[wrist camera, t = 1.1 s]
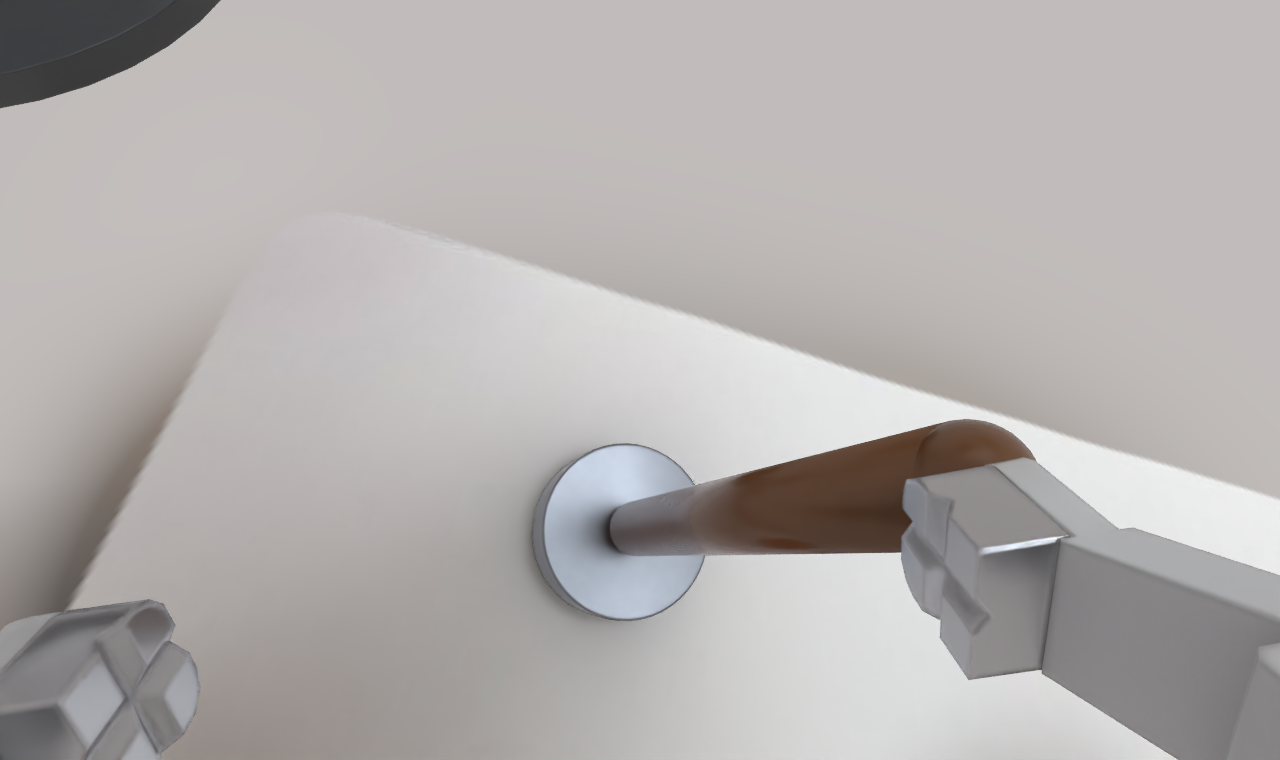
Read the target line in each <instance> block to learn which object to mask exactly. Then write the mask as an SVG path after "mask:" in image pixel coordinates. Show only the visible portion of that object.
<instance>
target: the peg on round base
mask: <svg viewBox="0 0 1280 760" xmlns="http://www.w3.org/2000/svg"><path fill="white" fill-rule="evenodd" d="M1023 457H1024V458H1028V459H1031V460H1034V461H1036V459H1035V458H1034V456H1033V455H1032V453H1031V451H1030V450H1029V449H1028V448H1027V447H1026V445H1025V444H1024V443H1023V442H1022V441H1021V440H1019V439H1018V438H1017V437H1016V436H1015V435H1013V434H1012V433H1011V432H1009V431H1007V430H1005V429H1004V428H1002V427H999V426H997V425H995V424H992V423H989V422H986V421H979V420H970V419H963V420H953V421H948V422H944V423H940V424H936V425H932V426H928V427H924V428H920V429H916V430H912V431H908V432H904V433H900V434H896V435H892V436H888V437H884V438H881V439H877V440H873V441H869V442H865V443H861V444H857V445H853V446H849V447H845V448H841V449H837V450H833V451H829V452H825V453H821V454H817V455H813V456H809V457H805V458H801V459H797V460H794V461H790V462H786V463H782V464H778V465H774V466H770V467H766V468H762V469H758V470H754V471H750V472H746V473H742V474H738V475H734V476H730V477H726V478H722V479H718V480H714V481H710V482H707V483H703V484H699V485H694V483H693V481H692V480H691V478H690V477H689V476H688V475H687V473H686V472H685V471H684V470H683V469H682V468H681V467H680V466H679V465H678V464H677V463H676V462H675V461H673V460H672V459H670V458H669V457H668V456H666V455H664V454H662V453H661V452H659V451H657V450H654V449H652V448H649V447H646V446H641V445H637V444H627V443H625V444H612V445H607V446H603V447H600V448H597V449H594V450H592V451H590V452H588V453H586V454H584V455H582V456H581V457H579V458H577V459H575V460H574V461H572V462H571V463H569V464H567V465H566V466H565V467H563V468H562V469H561V470H560V471H559V472H558V473H557V474H556V475H555V476H554V477H553V478H552V479H551V480H550V482H549V483H548V485H547V486H546V488H545V489H544V491H543V493H542V495H541V497H540V499H539V502H538V504H537V507H536V510H535V515H534V520H533V530H532V537H533V547H534V553H535V557H536V560H537V563H538V566H539V568H540V570H541V573H542V575H543V577H544V578H545V580H546V581H547V583H548V584H549V586H550V587H551V588H552V589H553V590H554V592H555V593H556V594H557V595H558V596H559V597H560V598H562V599H563V600H564V601H565V602H567V603H568V604H570V605H571V606H573V607H574V608H576V609H578V610H581V611H583V612H585V613H589V614H592V615H595V616H599V617H602V618H606V619H611V620H617V621H633V620H641V619H645V618H648V617H652V616H654V615H656V614H659V613H661V612H663V611H664V610H666V609H668V608H669V607H671V606H672V605H673V604H675V603H676V602H677V601H678V600H680V599H681V597H682V596H683V595H684V594H685V593H686V592H687V591H688V590H689V588H690V587H691V586H692V584H693V583H694V581H695V579H696V577H697V576H698V574H699V572H700V569H701V567H702V564H703V561H704V558H705V555H762V554H830V553H897V552H901V537H902V535H903V534H904V533H905V531H906V530H907V529H908V527H909V526H910V524H911V523H912V522H913V521H912V520H911V519H910V517H909V516H908V515H907V514H906V512H905V511H904V510H903V508H902V499H903V489H904V486H905V483H906V480H907V479H912V478H918V477H923V476H929V475H935V474H941V473H946V472H952V471H958V470H964V469H969V468H975V467H981V466H985V465H987V464H992V463H997V462H1002V461H1008V460H1013V459H1018V458H1023Z"/></svg>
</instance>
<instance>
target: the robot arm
mask: <svg viewBox="0 0 1280 760" xmlns="http://www.w3.org/2000/svg"><path fill="white" fill-rule="evenodd" d="M902 508H903V510H904V511H905V512H906V514H907V515H908V516H909V517H910V519H911V520H912V521H913V522H912V523H911V524H910V526H909V527H908V529H907V530H906V531H905V533H904V534H903V535H902V537H901V560H902V564H903V569H904V573H905V578H906V581H907V584H908V586H909V588H910V591H911V593H912V595H913V597H914V599H915V600H916V602H917V603H918V605H919V606H920V608H921V610H922V611H924V612H926V613H927V614H929V615H931V616H933V617H935V618H937V619H939V620H941V625H940V638H941V640H942V641H943V643H944V644H945V646H946V647H947V649H948V650H949V652H950V653H951V655H952V656H953V658H954V659H955V661H956V662H957V664H958V665H959V666H960V668H961V669H962V671H963V672H964V674H965V675H966V677H967V678H968V680H971V679H978V678H985V677H992V676H999V675H1006V674H1013V673H1020V672H1027V671H1035V670H1042V674H1044V675H1045V676H1047V677H1048V678H1050V679H1052V680H1053V681H1055V682H1056V683H1058V684H1059V685H1061V686H1063V687H1064V688H1066V689H1067V690H1069V691H1071V692H1072V693H1074V694H1075V695H1077V696H1078V697H1080V698H1082V699H1083V700H1085V701H1086V702H1088V703H1089V704H1091V705H1093V706H1094V707H1096V708H1097V709H1099V710H1101V711H1102V712H1104V713H1105V714H1107V715H1108V716H1110V717H1112V718H1113V719H1115V720H1116V721H1118V722H1119V723H1121V724H1123V725H1124V726H1126V727H1127V728H1129V729H1131V730H1132V731H1134V732H1135V733H1137V734H1138V735H1140V736H1142V737H1143V738H1145V739H1146V740H1148V741H1149V742H1151V743H1153V744H1154V745H1156V746H1157V747H1159V748H1160V749H1162V750H1164V751H1165V752H1167V753H1168V754H1170V755H1172V756H1173V757H1175V758H1176V759H1178V760H1280V575H1277V574H1274V573H1270V572H1267V571H1264V570H1261V569H1258V568H1255V567H1252V566H1249V565H1246V564H1243V563H1240V562H1237V561H1234V560H1231V559H1227V558H1224V557H1221V556H1218V555H1215V554H1212V553H1209V552H1206V551H1203V550H1200V549H1197V548H1194V547H1191V546H1188V545H1185V544H1181V543H1178V542H1175V541H1172V540H1169V539H1166V538H1163V537H1160V536H1157V535H1154V534H1151V533H1148V532H1145V531H1142V530H1138V529H1135V528H1126V529H1120V530H1119V529H1118V528H1117V527H1116V526H1114V525H1113V524H1112V523H1111V522H1109V521H1108V520H1107V519H1106V518H1105V517H1103V516H1102V515H1101V514H1100V513H1098V512H1097V511H1096V510H1095V509H1094V508H1092V507H1091V506H1090V505H1089V504H1087V503H1086V502H1085V501H1084V500H1083V499H1081V498H1080V497H1079V496H1078V495H1076V494H1075V493H1074V492H1073V491H1072V490H1070V489H1069V488H1068V487H1067V486H1065V485H1064V484H1063V483H1062V482H1061V481H1059V480H1058V479H1057V478H1056V477H1054V476H1053V475H1052V474H1051V473H1050V472H1048V471H1047V470H1046V469H1045V468H1043V467H1042V466H1041V465H1040V464H1039V463H1037V462H1036V461H1034V460H1031V459H1028V458H1024V457H1023V458H1018V459H1013V460H1008V461H1002V462H997V463H992V464H987V465H985V466H981V467H975V468H969V469H964V470H958V471H952V472H946V473H941V474H935V475H929V476H923V477H918V478H912V479H907V480H906V483H905V486H904V489H903V499H902ZM174 628H175V623H174V622H173V620H172V618H171V616H170V615H169V613H168V611H167V609H166V608H165V606H164V604H162V603H159V602H156V601H153V600H149V599H148V600H141V601H134V602H127V603H119V604H112V605H105V606H98V607H91V608H83V609H76V610H69V611H66V612H55V613H49V614H43V615H37V616H31V617H25V618H22V619H20V620H17V621H14V622H11V623H8V624H7V625H6V626H5V627H4V628H3V629H2V630H1V631H0V760H162V757H161V753H162V752H163V751H164V750H165V749H167V748H168V747H169V746H170V745H171V744H173V743H174V742H175V741H176V740H177V739H179V738H180V737H181V736H182V735H184V733H185V731H186V729H187V728H188V726H189V724H190V722H191V720H192V718H193V717H194V715H195V713H196V708H197V702H198V697H199V691H200V684H199V677H198V671H197V667H196V665H195V663H194V661H193V659H192V657H191V655H190V653H189V652H187V651H185V650H184V649H182V648H181V647H179V646H177V645H176V644H174V643H172V642H171V641H170V639H171V636H172V633H173V630H174Z"/></svg>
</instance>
